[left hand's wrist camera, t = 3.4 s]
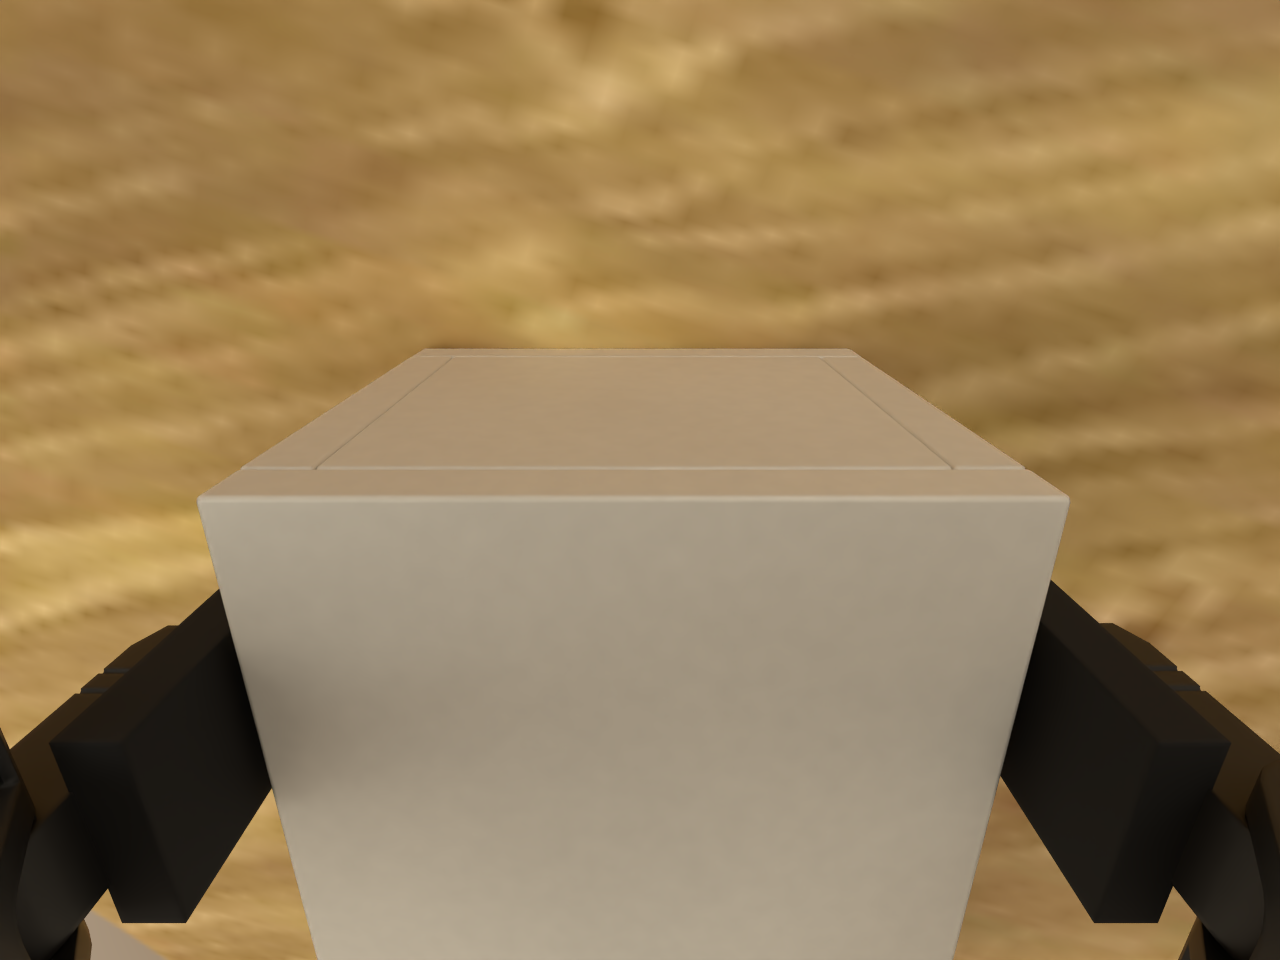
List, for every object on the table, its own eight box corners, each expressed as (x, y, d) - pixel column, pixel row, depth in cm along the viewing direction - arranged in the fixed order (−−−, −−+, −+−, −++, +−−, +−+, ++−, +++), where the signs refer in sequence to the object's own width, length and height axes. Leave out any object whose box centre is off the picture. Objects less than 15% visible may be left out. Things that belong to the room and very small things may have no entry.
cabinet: (785, 917, 23) (865, 1308, 15) (490, 917, 23) (407, 1308, 15) (850, 347, 16) (1075, 496, 8) (422, 347, 16) (192, 496, 8)
